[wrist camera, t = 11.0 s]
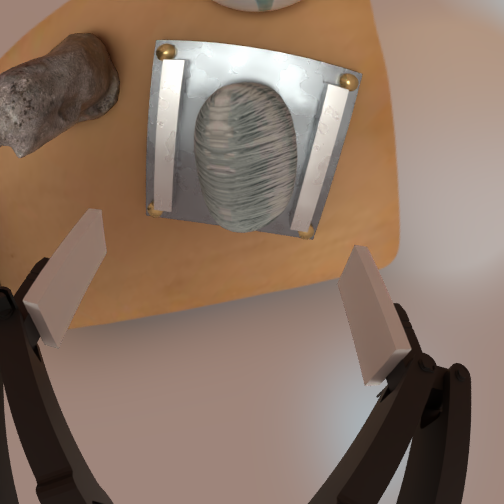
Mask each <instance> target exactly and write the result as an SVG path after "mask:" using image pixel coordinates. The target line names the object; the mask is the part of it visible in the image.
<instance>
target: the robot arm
mask: <svg viewBox="0 0 504 504" xmlns="http://www.w3.org/2000/svg"><path fill="white" fill-rule="evenodd" d="M106 253H107V250H106V243H105V235H104V227H103V219H102V210H99V209H90V208H89V209H88V210H87V211H86V212H85V214H84V215H83V216H82V217H81V219H80V220H79V221H78V222H77V224H76V225H75V226H74V227H73V229H72V230H71V231H70V232H69V234H68V235H67V236H66V238H65V239H64V240H63V242H62V243H61V244H60V246H59V247H58V248H57V250H56V251H55V252H54V254H53V255H52V257H51V258H45V257H44V258H43V259H42V260H40V261H39V262H38V263H36V264H35V266H34V267H33V269H32V270H31V273H29V274H28V276H27V277H26V279H25V280H24V282H23V283H22V285H21V286H20V288H19V289H18V291H17V292H16V294H15V295H14V297H13V295H12V293H11V290H10V289H9V288H7V287H3V286H2V287H0V504H19V502H18V498H17V494H16V490H15V485H14V480H13V475H12V470H11V465H10V459H9V452H8V445H7V437H6V427H5V415H4V394H3V383H4V387H5V391H6V395H7V399H8V403H9V406H10V410H11V413H12V417H13V420H14V423H15V426H16V429H17V432H18V435H19V438H20V441H21V444H22V447H23V449H24V452H25V455H26V457H27V460H28V462H29V464H30V467H31V469H32V471H33V474H34V476H35V478H36V481H37V487H36V494H37V496H38V499H39V501H40V503H41V504H113V502H112V501H111V499H110V498H109V497H108V495H107V494H106V492H105V491H104V490H103V489H102V488H101V487H100V486H99V484H98V483H97V481H96V479H95V478H94V476H93V474H92V473H91V471H90V469H89V467H88V465H87V464H86V462H85V460H84V458H83V456H82V454H81V452H80V450H79V448H78V446H77V444H76V442H75V440H74V438H73V436H72V434H71V432H70V429H69V427H68V425H67V423H66V420H65V418H64V416H63V414H62V411H61V409H60V406H59V404H58V401H57V399H56V396H55V393H54V391H53V388H52V385H51V382H50V380H49V377H48V374H47V371H46V368H45V364H44V362H43V358H42V355H41V352H40V348H39V346H38V344H37V342H38V340H39V338H40V337H41V338H42V341H43V342H44V344H45V345H48V346H51V347H55V348H59V346H60V344H61V342H62V340H63V338H64V335H65V333H66V331H67V329H68V327H69V325H70V322H71V320H72V318H73V316H74V314H75V312H76V310H77V308H78V306H79V304H80V302H81V300H82V298H83V296H84V294H85V292H86V290H87V288H88V286H89V284H90V282H91V281H92V279H93V277H94V275H95V273H96V271H97V269H98V268H99V266H100V264H101V262H102V260H103V259H104V257H105V255H106ZM338 287H339V290H340V294H341V297H342V300H343V304H344V307H345V311H346V315H347V318H348V322H349V325H350V329H351V333H352V336H353V340H354V344H355V348H356V352H357V356H358V359H359V363H360V368H361V372H362V376H363V380H364V384H365V386H371V385H380V384H381V383H382V382H383V381H384V380H385V379H386V380H387V383H388V385H387V386H386V387H385V388H384V389H383V390H382V391H381V392H380V393H379V394H378V395H377V397H379V396H380V395H381V396H380V398H379V399H378V401H377V403H376V405H375V407H374V408H373V410H372V412H371V414H370V415H369V417H368V419H367V420H366V422H365V424H364V425H363V427H362V429H361V430H360V432H359V433H358V435H357V437H356V438H355V440H354V441H353V443H352V444H351V446H350V447H349V449H348V450H347V452H346V453H345V455H344V457H343V458H342V459H341V461H340V462H339V464H338V465H337V467H336V468H335V469H334V471H333V472H332V473H331V475H330V476H329V478H328V479H327V480H326V482H325V483H324V484H323V485H322V487H321V488H320V489H319V491H318V492H317V493H316V494H315V496H314V497H313V498H312V499H311V501H310V502H309V503H308V504H377V503H378V502H379V500H380V498H381V497H382V495H383V493H384V492H385V490H386V488H387V486H388V485H389V483H390V481H391V479H392V477H393V475H394V474H395V471H396V470H397V468H398V466H399V464H400V462H401V460H402V458H403V456H404V454H405V452H406V450H407V448H408V445H409V443H410V441H411V439H412V443H411V448H410V452H409V457H408V461H407V466H406V470H405V474H404V478H403V482H402V485H401V489H400V493H399V496H398V499H397V503H396V504H461V502H462V497H463V491H464V485H465V479H466V472H467V464H468V454H469V444H470V428H471V377H470V373H469V371H468V370H467V368H466V367H465V366H463V365H462V364H459V363H455V364H453V365H452V366H451V367H450V368H449V369H447V368H443V367H439V366H436V363H435V361H434V360H433V358H432V357H430V356H429V355H427V354H425V353H422V350H421V347H420V345H419V342H418V340H417V337H416V335H415V333H414V330H413V329H412V325H411V323H410V322H409V318H408V316H407V314H406V312H405V310H404V309H403V308H402V307H401V305H400V304H398V303H393V302H392V300H391V297H390V295H389V293H388V290H387V288H386V286H385V284H384V281H383V279H382V277H381V275H380V273H379V271H378V268H377V266H376V264H375V262H374V260H373V258H372V256H371V254H370V252H369V250H368V248H367V247H364V246H358V245H354V248H353V250H352V252H351V255H350V257H349V259H348V261H347V264H346V266H345V268H344V270H343V273H342V275H341V277H340V279H339V282H338ZM412 437H413V438H412Z"/></svg>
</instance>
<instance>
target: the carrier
mask: <svg viewBox="0 0 504 504" xmlns="http://www.w3.org/2000/svg"><path fill="white" fill-rule="evenodd" d="M361 78H362V74H361V73H358V72H355V71H352V70H348V69H345V68H342V67H338V66H335V65H331V64H328V63H324V62H320V61H316V60H312V59H308V58H304V57H300V56H295V55H291V54H286V53H281V52H276V51H270V50H265V49H259V48H252V47H246V46H238V45H230V44H221V43H211V42H198V41H179V40H156V45H155V53H154V61H153V70H152V79H151V89H150V101H149V115H148V132H147V156H146V215H147V216H152V217H162V218H170V219H177V220H184V221H192V222H199V223H206V224H213V225H219V224H218V223H217V222H216V221H215V220H214V219H213V217H212V216H211V214H210V212H209V210H208V208H207V205H206V203H205V201H204V197H203V194H202V191H201V187H200V183H199V178H198V174H197V169H196V162H195V153H194V131H195V124H196V119H197V116H198V113H199V111H200V109H201V107H202V106H203V104H204V102H205V101H206V100H207V99H208V97H209V96H210V95H211V94H213V93H214V92H215V91H216V90H218V89H219V88H221V87H224V86H227V85H230V84H237V83H243V82H248V83H258V84H262V85H265V86H267V87H269V88H271V89H273V90H275V91H276V92H277V93H278V94H279V95H280V96H281V97H282V99H283V100H284V102H285V104H286V105H287V107H288V109H289V111H290V113H291V117H292V120H293V124H294V128H295V133H296V142H297V170H296V178H295V185H294V189H293V193H292V196H291V199H290V201H289V203H288V205H287V207H286V208H285V210H284V211H283V212H282V213H281V214H280V215H279V216H278V217H277V218H276V219H275V220H274V221H273V222H272V223H270V224H269V225H267V226H265V227H263V228H260V229H258V230H256V231H260V232H267V233H274V234H280V235H286V236H293V237H299V238H302V239H312V240H313V238H314V235H315V232H316V229H317V226H318V223H319V220H320V217H321V214H322V211H323V208H324V205H325V202H326V199H327V196H328V193H329V190H330V186H331V183H332V180H333V177H334V174H335V170H336V167H337V164H338V160H339V157H340V154H341V150H342V147H343V144H344V140H345V137H346V133H347V130H348V126H349V123H350V119H351V115H352V112H353V108H354V104H355V101H356V97H357V93H358V89H359V86H360V82H361Z"/></svg>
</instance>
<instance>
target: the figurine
mask: <svg viewBox="0 0 504 504" xmlns="http://www.w3.org/2000/svg"><path fill="white" fill-rule="evenodd" d="M119 84H120V81H119V78H118V73H117V71H116V68H115V67H114V65H113V64H112V62H111V60H110V58H109V54H108V53H107V50H106V47H105V45H104V44H103V43H102V42H101V41H100V40H99V39H98V38H97V37H96V36H95V35H93V34H90V33H76V34H71V35H69V36H67V37H66V38H65V39H64V40H63V41H62V42H61V43H60V44H59V45H57V46H56V47H55V48H54V49H53V50H52V51H50V52H49V53H48V54H47V55H45V56H43V57H40V58H36V59H33V60H30V61H28V62H25V63H22V64H20V65H18V66H16V67H12V68H11V69H9V70H7V71H5V72H3V73H1V74H0V147H1V146H2V145H3V146H10V147H11V148H12V149H13V150H14V152H15V154H16V155H17V157H18V158H22V157H25V156H26V155H28V154H30V153H33V152H34V151H36V150H37V149H39V148H40V147H41V146H43V145H44V144H45V143H47V142H49V141H50V140H52V139H53V138H55V137H57V136H58V135H59V134H61V133H63V132H64V131H66V130H67V129H69V128H70V127H72V126H73V125H74V124H76V123H78V122H81V121H86V120H91V119H97V118H99V117H101V116H103V115H104V114H105V113H106V112H107V111H108V110H109V109H110V108H111V107H112V106H113V105H114V104H115V103H116V102H117V100H118V94H119Z"/></svg>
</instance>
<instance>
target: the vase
mask: <svg viewBox="0 0 504 504" xmlns="http://www.w3.org/2000/svg"><path fill="white" fill-rule="evenodd" d="M212 1H214V2H216V3H218V4H220V5H222V6H225V7H228V8H231V9H235V10H240V11H247V12H266V11H273V10H278V9H282V8H285V7H288V6H291V5H293V4H295V3H297V2H299V1H301V0H212Z"/></svg>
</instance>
